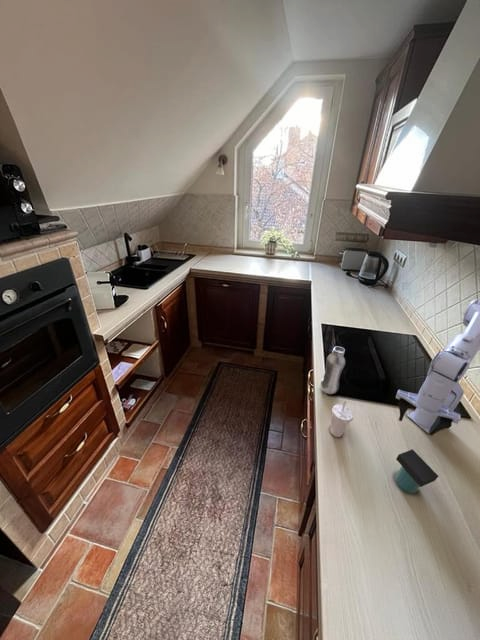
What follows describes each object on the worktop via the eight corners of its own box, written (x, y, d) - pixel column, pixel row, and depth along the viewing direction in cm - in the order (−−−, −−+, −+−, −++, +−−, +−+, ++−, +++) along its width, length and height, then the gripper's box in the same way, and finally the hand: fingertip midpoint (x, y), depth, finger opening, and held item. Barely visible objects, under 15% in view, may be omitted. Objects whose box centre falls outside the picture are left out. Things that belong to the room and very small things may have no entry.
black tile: (395, 459, 69) (398, 454, 68) (409, 453, 70) (412, 449, 69) (420, 487, 63) (424, 482, 62) (435, 480, 64) (438, 475, 63)
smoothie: (342, 423, 86) (352, 394, 79) (349, 440, 81) (361, 410, 74) (323, 423, 86) (332, 394, 79) (330, 441, 80) (339, 410, 73)
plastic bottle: (337, 398, 96) (349, 356, 86) (318, 393, 98) (329, 352, 88) (337, 386, 101) (349, 346, 91) (319, 382, 103) (329, 342, 93)
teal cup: (404, 470, 73) (412, 456, 70) (422, 488, 69) (431, 475, 65) (390, 477, 71) (398, 464, 68) (408, 497, 67) (417, 483, 64)
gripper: (401, 388, 68) (385, 421, 75) (469, 415, 61) (444, 450, 68) (405, 374, 73) (389, 406, 80) (468, 397, 66) (445, 431, 72)
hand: (415, 425), depth 74 cm, fingers open, 7 cm apart
